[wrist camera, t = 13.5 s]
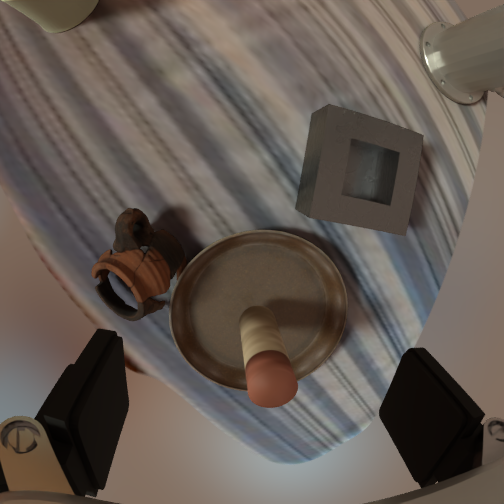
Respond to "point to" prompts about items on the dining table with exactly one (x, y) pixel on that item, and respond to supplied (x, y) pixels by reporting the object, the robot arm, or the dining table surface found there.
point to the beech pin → (266, 359)
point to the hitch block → (359, 171)
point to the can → (55, 12)
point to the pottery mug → (139, 265)
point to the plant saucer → (257, 303)
